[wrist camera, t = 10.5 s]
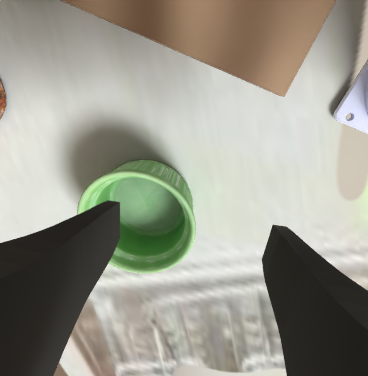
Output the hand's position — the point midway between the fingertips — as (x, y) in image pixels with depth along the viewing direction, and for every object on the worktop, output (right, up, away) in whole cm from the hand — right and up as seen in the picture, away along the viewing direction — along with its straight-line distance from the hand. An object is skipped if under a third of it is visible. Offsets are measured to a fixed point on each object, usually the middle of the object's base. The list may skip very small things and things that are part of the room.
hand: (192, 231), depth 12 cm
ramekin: (-4, +1, +11) cm, 11 cm away
